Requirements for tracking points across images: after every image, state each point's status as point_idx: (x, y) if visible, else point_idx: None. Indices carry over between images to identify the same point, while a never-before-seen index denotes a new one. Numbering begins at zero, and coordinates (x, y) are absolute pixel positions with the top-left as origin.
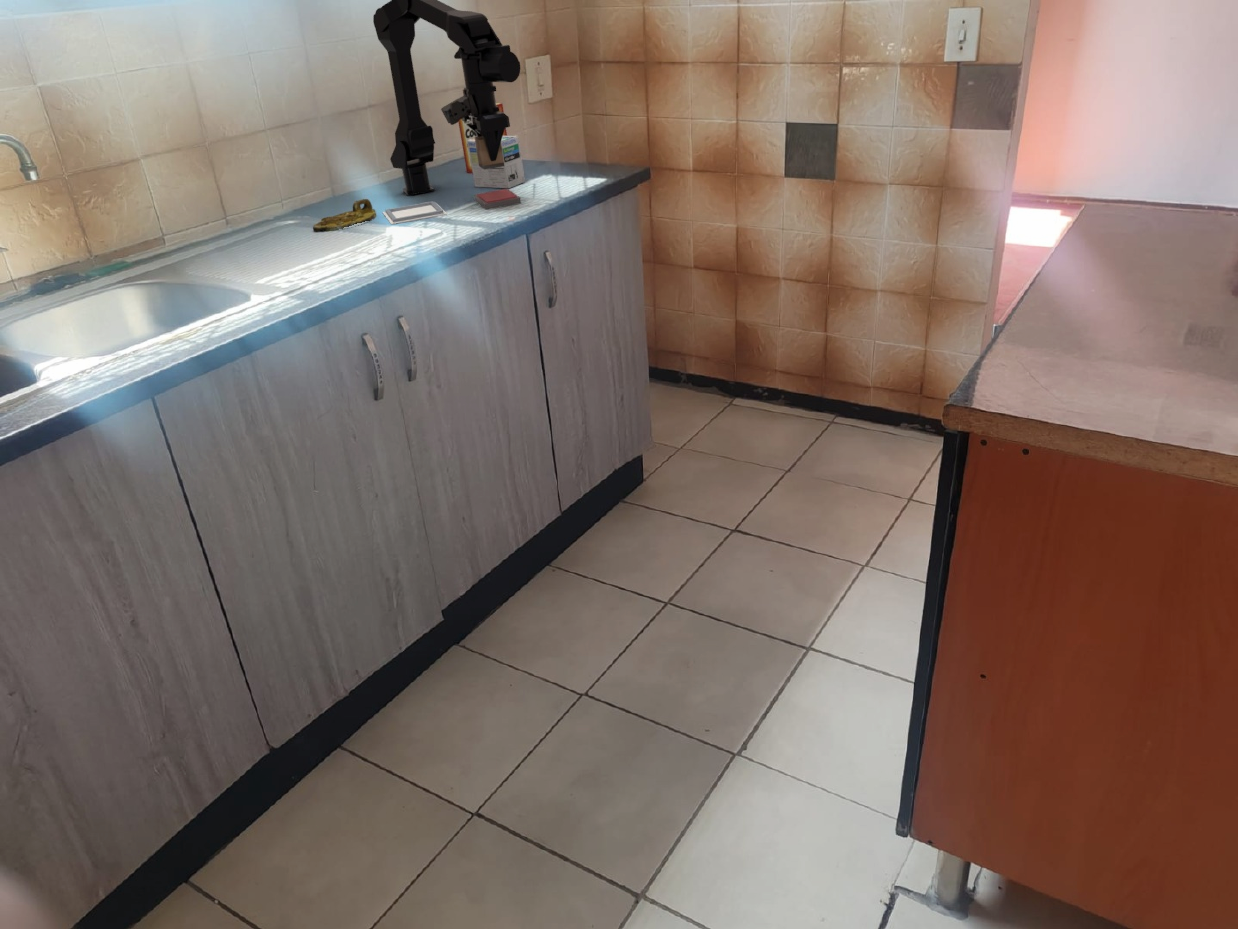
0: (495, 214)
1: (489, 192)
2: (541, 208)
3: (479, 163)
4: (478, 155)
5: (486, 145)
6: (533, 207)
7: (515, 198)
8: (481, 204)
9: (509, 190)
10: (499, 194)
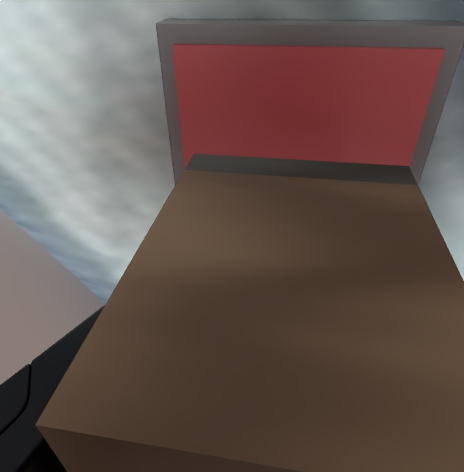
0: (35, 39)
1: (400, 133)
2: (57, 227)
3: (371, 178)
4: (366, 228)
5: (38, 372)
6: (86, 213)
7: None
8: (256, 21)
9: None
10: None
